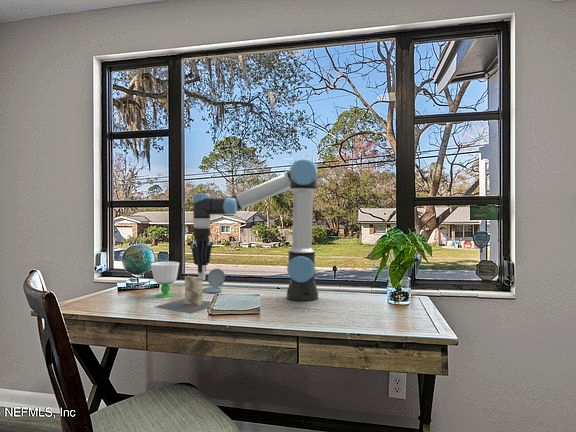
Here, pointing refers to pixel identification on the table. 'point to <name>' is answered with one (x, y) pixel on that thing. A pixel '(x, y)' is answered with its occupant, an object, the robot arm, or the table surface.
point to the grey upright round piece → (214, 281)
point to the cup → (165, 276)
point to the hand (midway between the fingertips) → (201, 279)
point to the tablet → (193, 290)
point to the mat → (184, 306)
